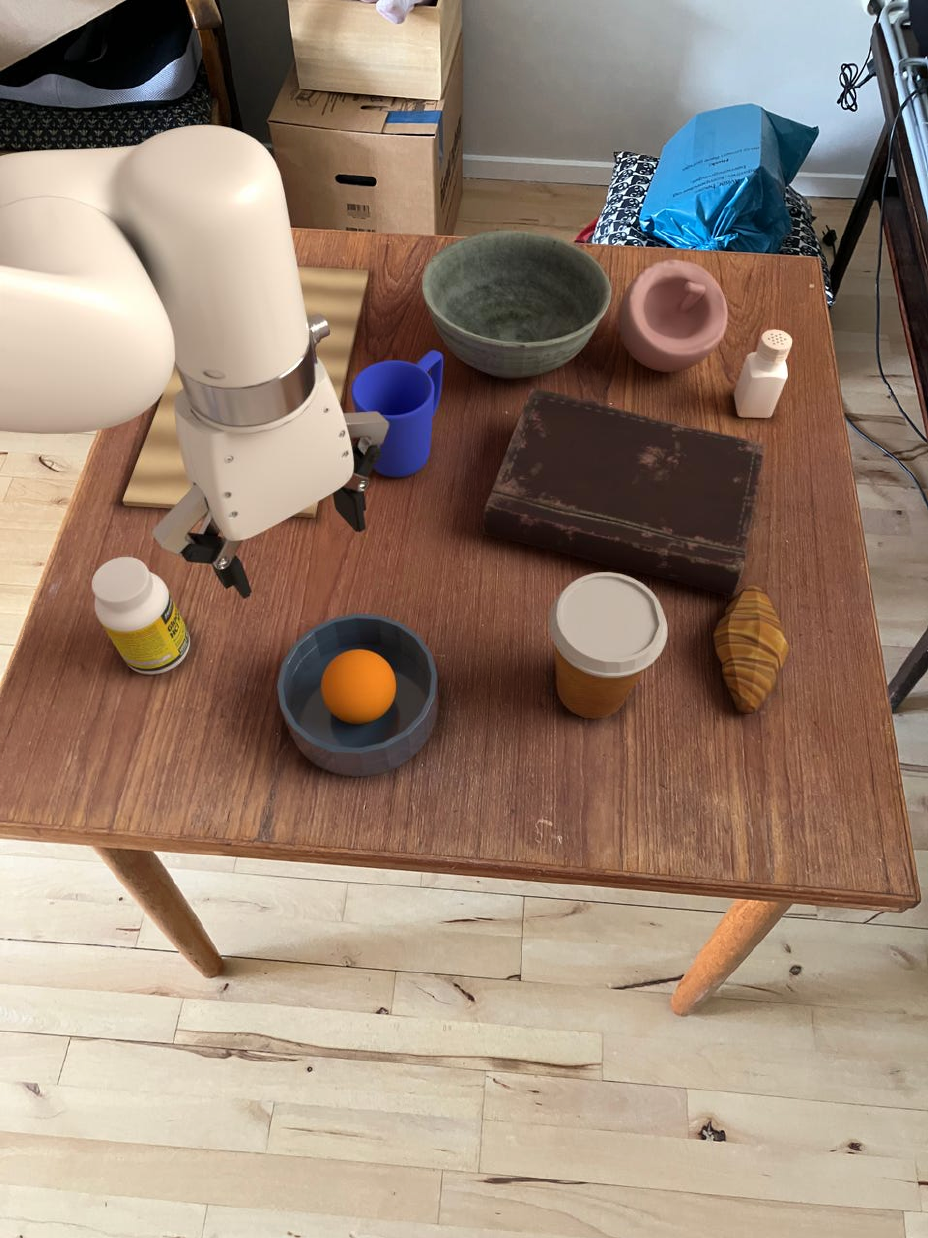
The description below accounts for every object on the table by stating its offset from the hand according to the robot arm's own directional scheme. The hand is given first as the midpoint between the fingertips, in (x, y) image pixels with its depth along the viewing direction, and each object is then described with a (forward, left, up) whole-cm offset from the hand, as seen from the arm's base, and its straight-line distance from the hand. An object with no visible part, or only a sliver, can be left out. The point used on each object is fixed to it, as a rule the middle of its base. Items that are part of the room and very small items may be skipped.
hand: (295, 551), depth 64 cm
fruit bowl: (+2, -4, -19) cm, 20 cm away
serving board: (-2, +41, -19) cm, 45 cm away
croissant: (+38, -7, -19) cm, 43 cm away
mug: (+13, +26, -19) cm, 35 cm away
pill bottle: (-15, +7, -19) cm, 25 cm away
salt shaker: (+52, +23, -19) cm, 60 cm away
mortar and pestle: (+45, +33, -19) cm, 59 cm away
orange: (+2, -4, -15) cm, 16 cm away
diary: (+33, +13, -19) cm, 41 cm away
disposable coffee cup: (+23, -7, -19) cm, 31 cm away
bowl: (+28, +38, -19) cm, 51 cm away
